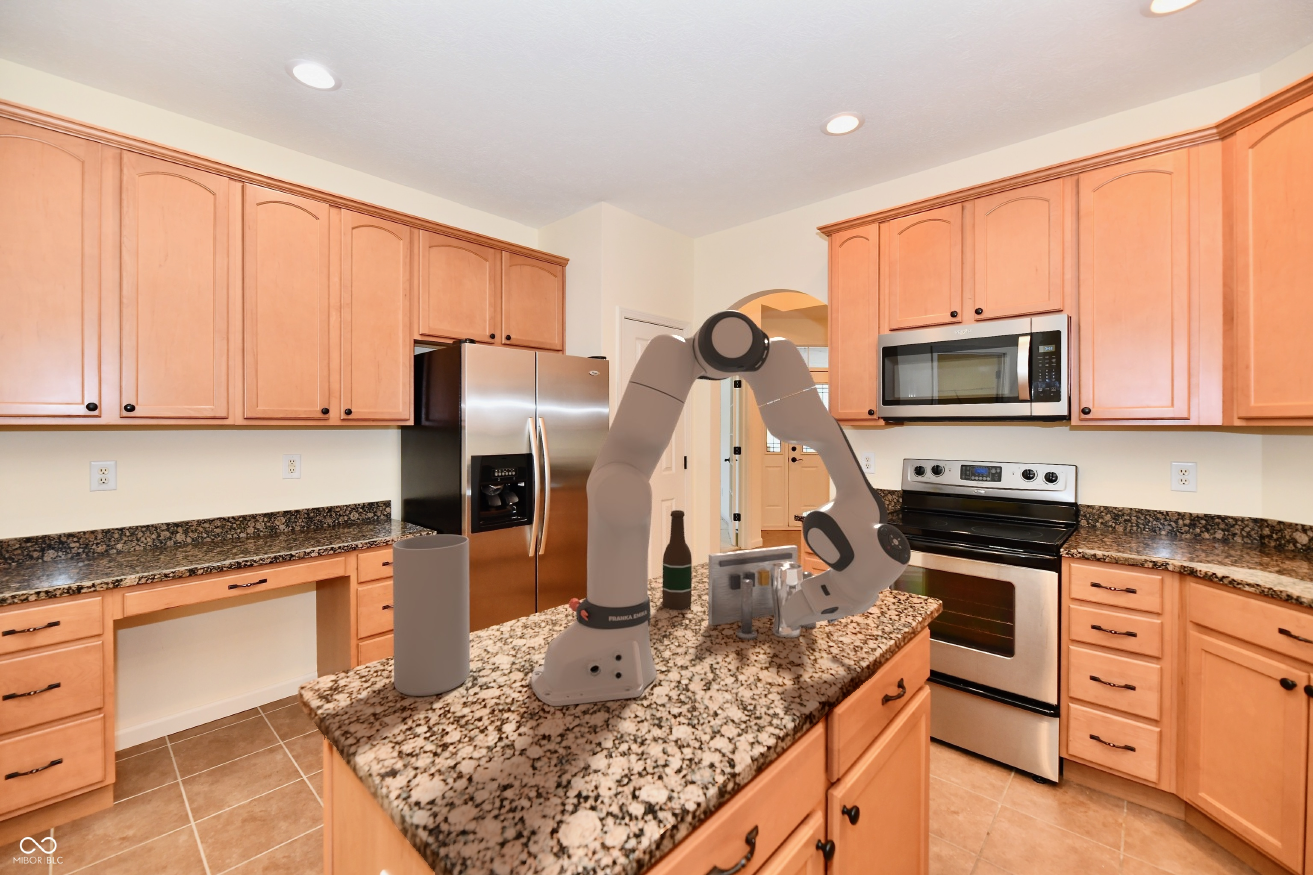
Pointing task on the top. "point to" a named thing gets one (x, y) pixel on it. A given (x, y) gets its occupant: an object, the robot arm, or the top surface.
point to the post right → (805, 576)
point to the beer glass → (784, 593)
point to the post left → (746, 611)
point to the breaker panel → (729, 576)
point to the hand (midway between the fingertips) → (811, 623)
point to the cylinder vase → (431, 613)
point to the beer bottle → (677, 567)
